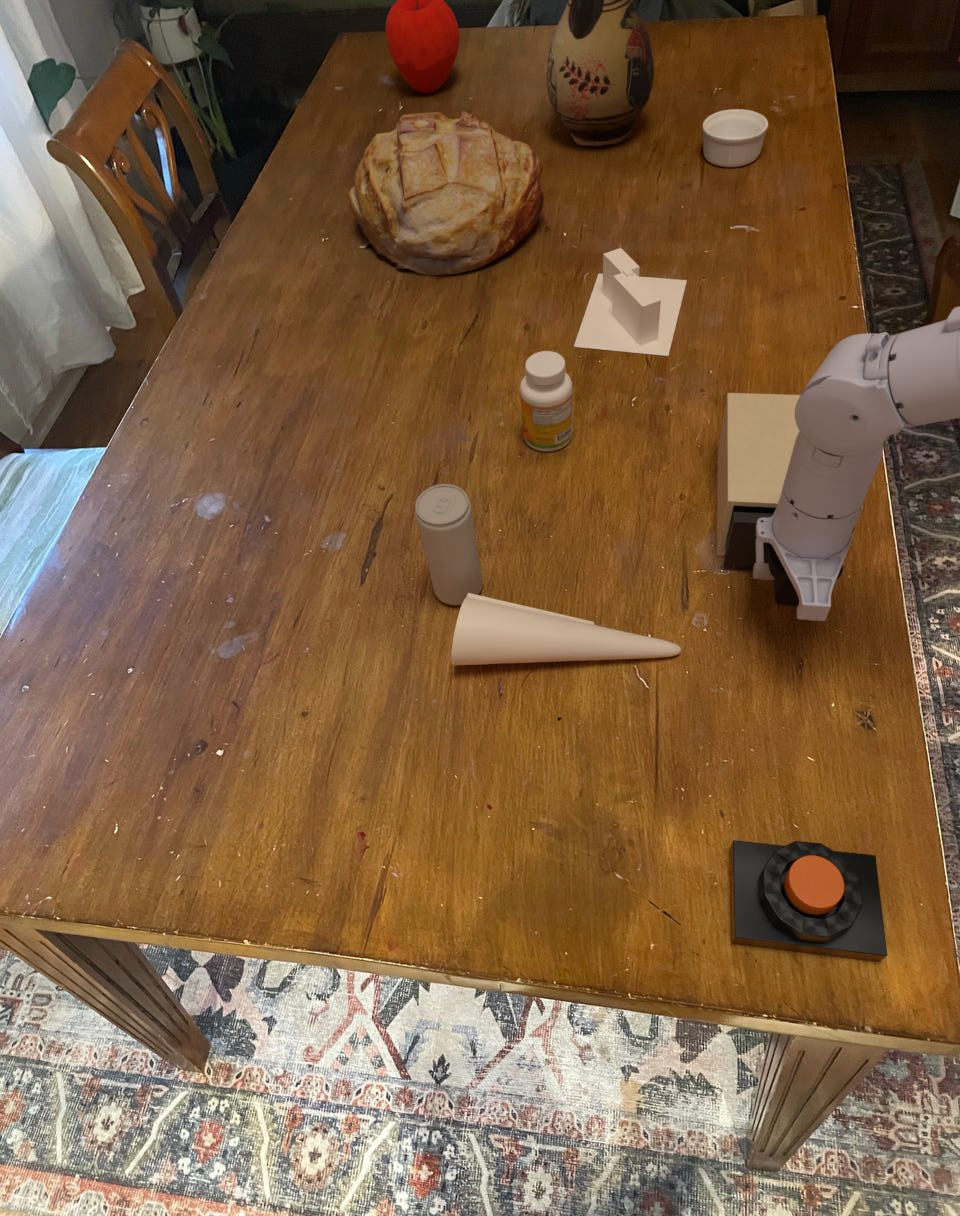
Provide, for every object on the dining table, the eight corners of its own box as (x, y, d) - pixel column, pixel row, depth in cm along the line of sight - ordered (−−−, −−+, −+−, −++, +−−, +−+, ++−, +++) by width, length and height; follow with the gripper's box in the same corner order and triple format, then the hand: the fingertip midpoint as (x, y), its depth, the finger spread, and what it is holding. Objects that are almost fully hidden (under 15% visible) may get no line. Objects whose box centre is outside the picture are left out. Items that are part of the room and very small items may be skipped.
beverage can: (490, 574, 82) (478, 488, 72) (473, 613, 79) (458, 529, 70) (444, 564, 83) (425, 478, 73) (426, 602, 81) (404, 519, 71)
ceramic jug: (592, 99, 136) (594, -143, 112) (670, 124, 129) (691, -128, 104) (520, 144, 130) (506, -102, 105) (598, 173, 123) (602, -83, 98)
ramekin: (687, 160, 122) (690, 129, 119) (720, 133, 126) (724, 102, 122) (742, 176, 118) (747, 145, 115) (774, 148, 122) (780, 117, 118)
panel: (869, 862, 63) (882, 846, 60) (880, 962, 59) (895, 949, 56) (729, 847, 64) (736, 830, 61) (731, 943, 60) (738, 930, 58)
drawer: (841, 609, 75) (859, 567, 70) (724, 601, 76) (734, 559, 71) (827, 467, 84) (842, 420, 80) (724, 462, 86) (732, 417, 81)
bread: (406, 177, 130) (380, 71, 118) (573, 187, 120) (562, 71, 108) (324, 270, 118) (286, 162, 106) (501, 290, 108) (480, 173, 96)
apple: (477, 77, 145) (468, -15, 134) (440, 108, 139) (427, 15, 128) (419, 68, 149) (406, -22, 138) (381, 98, 144) (365, 7, 133)
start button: (835, 866, 60) (842, 858, 58) (840, 918, 58) (846, 911, 56) (782, 860, 60) (787, 852, 59) (785, 912, 58) (790, 904, 57)
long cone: (669, 721, 73) (450, 678, 75) (674, 663, 77) (466, 623, 79) (683, 683, 68) (450, 638, 71) (688, 623, 72) (467, 582, 75)
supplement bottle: (526, 418, 94) (521, 345, 86) (574, 419, 93) (574, 346, 85) (520, 452, 91) (515, 380, 83) (571, 454, 90) (570, 381, 82)
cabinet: (841, 563, 78) (863, 507, 72) (716, 556, 80) (727, 500, 74) (830, 455, 86) (849, 396, 80) (717, 450, 88) (727, 392, 82)
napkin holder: (670, 356, 98) (674, 313, 93) (573, 347, 100) (572, 305, 96) (687, 279, 106) (691, 236, 101) (596, 273, 109) (597, 231, 104)
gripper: (764, 420, 67) (738, 532, 78) (770, 564, 59) (740, 667, 70) (859, 423, 66) (819, 537, 77) (878, 571, 57) (831, 674, 68)
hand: (787, 599), depth 73 cm, fingers closed
